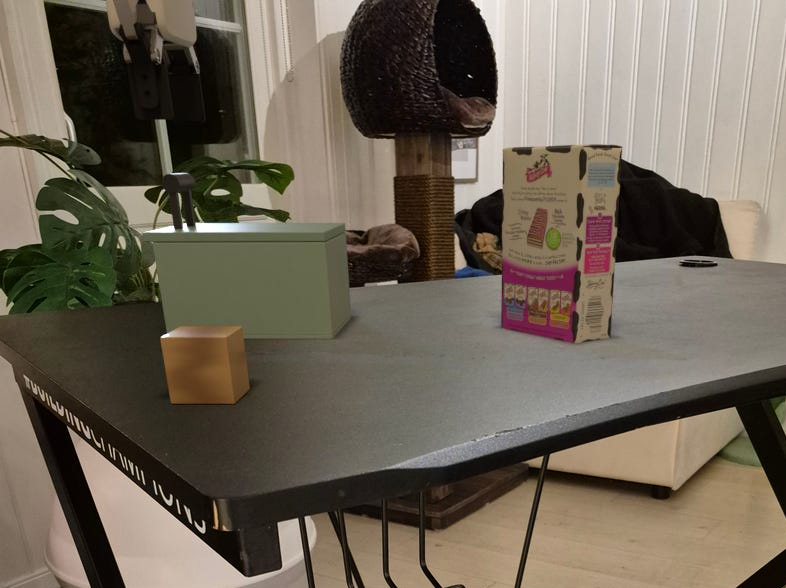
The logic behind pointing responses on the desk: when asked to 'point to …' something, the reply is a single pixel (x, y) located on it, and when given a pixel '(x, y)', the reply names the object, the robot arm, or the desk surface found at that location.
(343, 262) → the bin
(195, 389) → the block
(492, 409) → the desk surface
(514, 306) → the candy bar box
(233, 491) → the desk surface
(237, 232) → the lid
